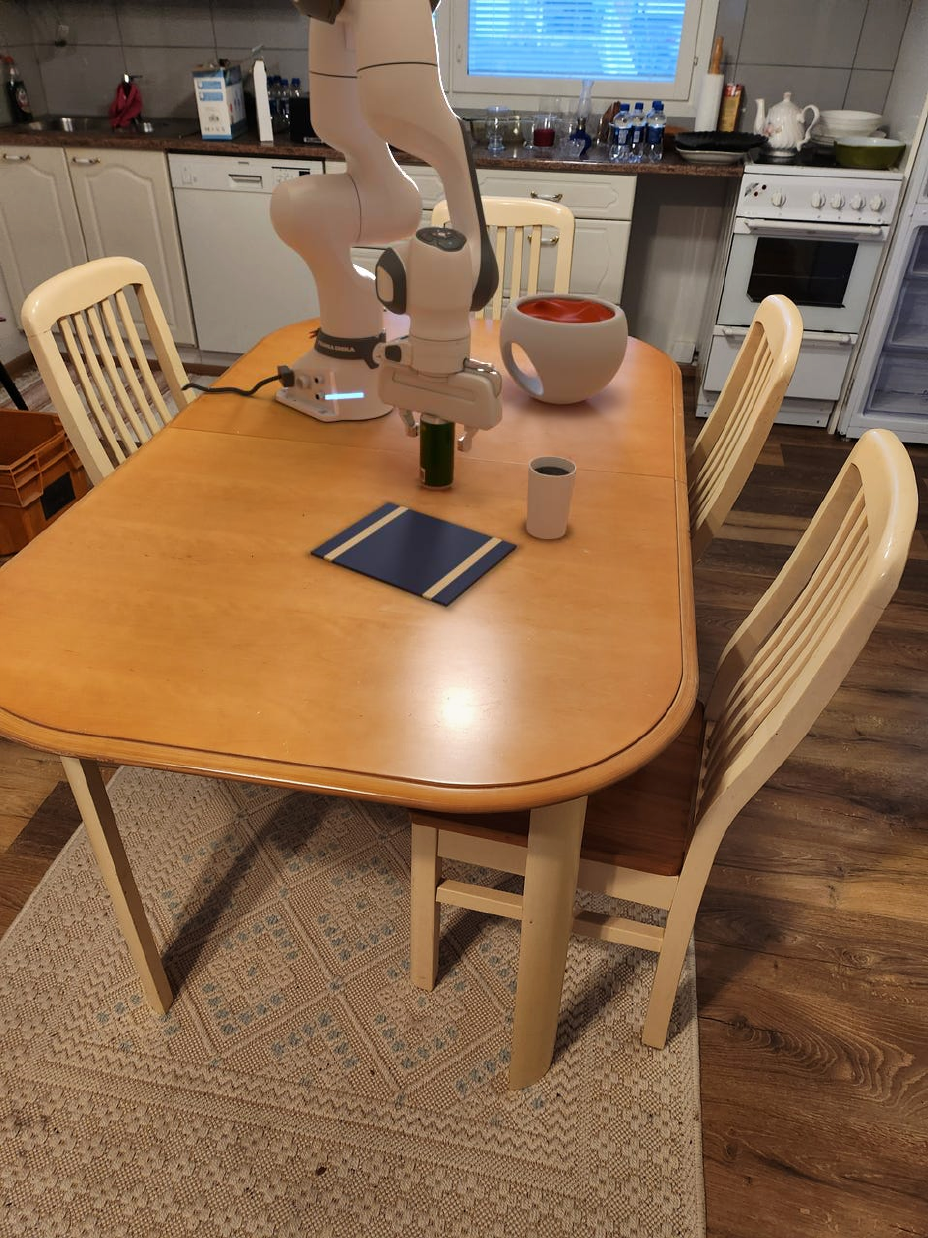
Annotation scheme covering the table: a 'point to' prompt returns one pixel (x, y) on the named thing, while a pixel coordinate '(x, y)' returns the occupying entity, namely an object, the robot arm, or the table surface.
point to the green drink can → (436, 452)
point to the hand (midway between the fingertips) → (438, 442)
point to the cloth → (415, 552)
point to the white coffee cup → (549, 496)
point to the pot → (564, 344)
